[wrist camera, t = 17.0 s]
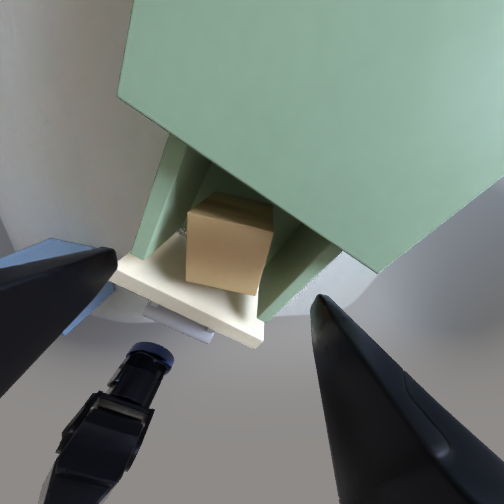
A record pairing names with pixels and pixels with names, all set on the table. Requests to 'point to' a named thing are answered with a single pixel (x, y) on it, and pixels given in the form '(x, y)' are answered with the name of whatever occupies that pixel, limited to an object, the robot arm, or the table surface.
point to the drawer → (174, 255)
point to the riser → (55, 249)
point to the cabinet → (332, 105)
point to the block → (228, 242)
